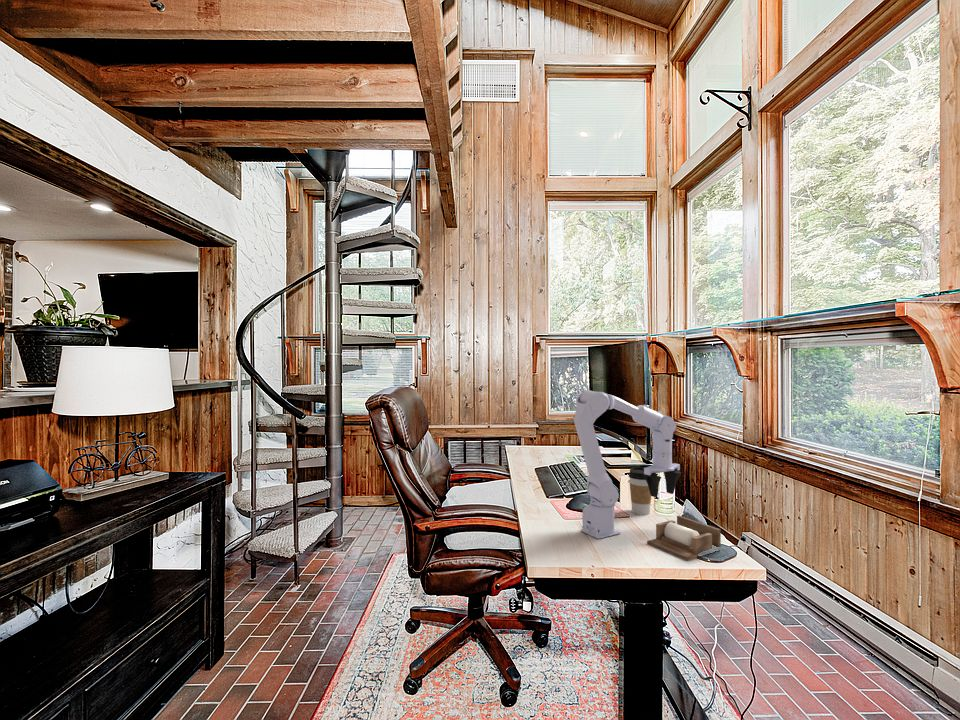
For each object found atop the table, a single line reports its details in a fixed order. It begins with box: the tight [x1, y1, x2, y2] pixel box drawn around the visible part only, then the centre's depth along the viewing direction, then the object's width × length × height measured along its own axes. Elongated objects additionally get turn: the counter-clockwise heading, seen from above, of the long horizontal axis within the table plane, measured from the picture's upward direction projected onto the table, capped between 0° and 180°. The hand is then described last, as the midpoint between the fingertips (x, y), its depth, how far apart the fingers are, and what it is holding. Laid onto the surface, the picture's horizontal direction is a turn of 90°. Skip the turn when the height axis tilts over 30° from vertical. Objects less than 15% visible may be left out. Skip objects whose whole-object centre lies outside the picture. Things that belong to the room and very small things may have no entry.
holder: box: [646, 515, 722, 561], centre depth 136 cm, size 14×14×6 cm
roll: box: [664, 522, 699, 547], centre depth 136 cm, size 5×8×5 cm, turn 30°
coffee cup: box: [628, 466, 652, 515], centre depth 167 cm, size 8×8×15 cm
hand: (662, 494), depth 152 cm, fingers open, 7 cm apart
